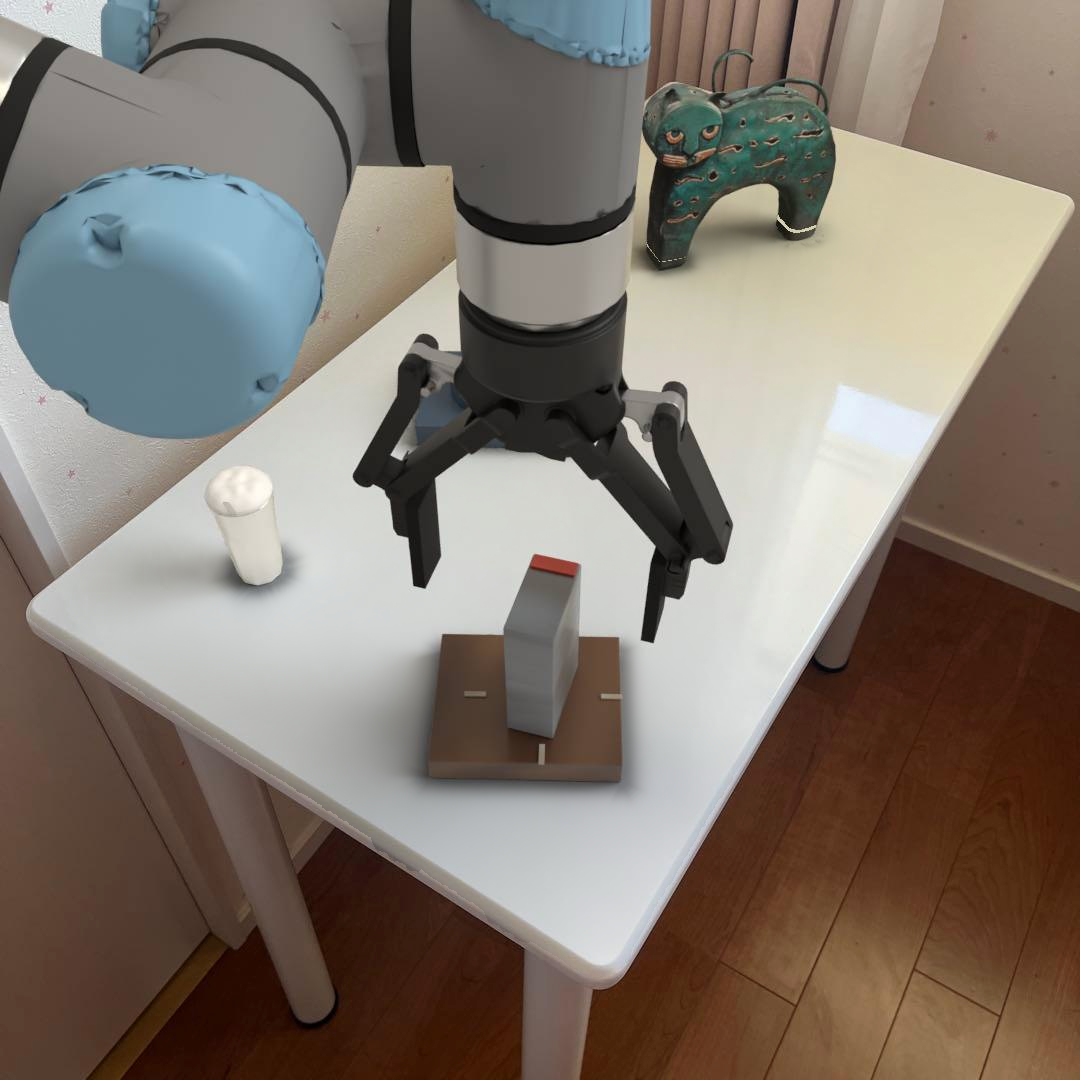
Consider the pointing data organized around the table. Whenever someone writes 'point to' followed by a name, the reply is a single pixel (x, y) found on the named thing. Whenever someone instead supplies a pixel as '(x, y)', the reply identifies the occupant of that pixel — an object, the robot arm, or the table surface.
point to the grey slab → (542, 645)
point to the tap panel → (504, 753)
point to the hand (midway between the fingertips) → (537, 597)
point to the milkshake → (247, 521)
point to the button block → (441, 411)
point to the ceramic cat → (734, 157)
